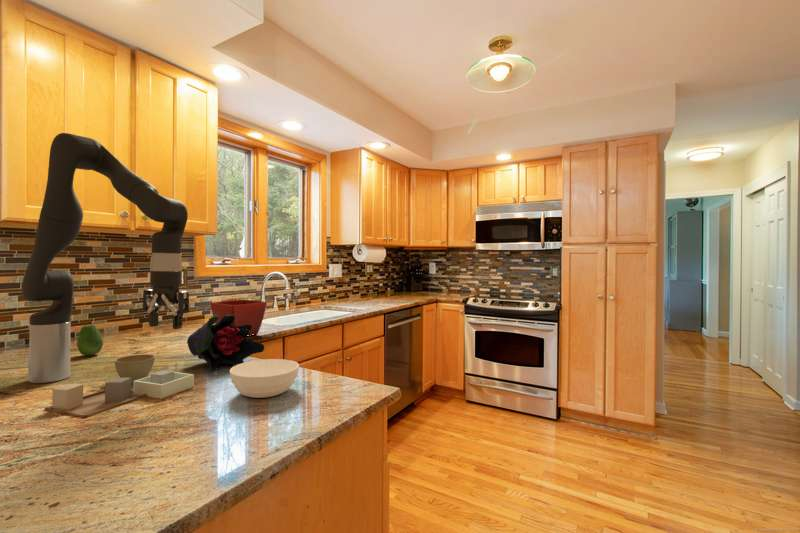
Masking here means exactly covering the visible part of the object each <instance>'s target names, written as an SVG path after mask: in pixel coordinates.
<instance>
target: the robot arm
mask: <svg viewBox="0 0 800 533" xmlns="http://www.w3.org/2000/svg"><path fill="white" fill-rule="evenodd" d="M51 141H52V142H51V145H50V149H49V159H48V168H47V169H48V170H47V182H46V186H45V193H44V197H43V201H42V206H41V209H40V212H39V218H38V222H37V229H36V233H35V239H34V243H33V246H32V252H31V254H30V257H29V260H28V264H27V265H26V269H25V272H24V274H23V279H22V283H21V294H22V297H23V299H24V300H26V301H28V302H48V301H52V303H51V305H49V306H48V307H46V308H44V309H42V310H41V311H37V312H35V313H32V314H31V315H30V316H29V332H28V333H29V348H28V354H27V355H28V362H27V363H28V366H27V367H28V373H27V374H28V375H27V376H28V379H27V380H28V383H30V384H45V383H52V382H57V381H61V380H62V381H63V380H65V379H68V378H70V376H71V335H72V334H71V328H72V327H71V324H72V323H71V322H72V321H71V320H72V319H71V317H72V313H73V303H74V302H73V298H74V289H75V288H74V287H75V285H74V278H73V275H72V274H71V272H70V271H67V270H60V269H59V270H52V269H51V270H49V267H50V265H51V263H52V262H53V261H54V259H55V258H56V257H57V256H58V255H59V254H60V253H62V251H64V250H65V249H67V248H68V246H70V245H71V244H72V243H73V242H74V241H75V240H77V238H78V236H79V234H80V231H81V227H82V223H83V219H84V211H83V208H82V205H81V203H80V201H79V199H78V197H77V195H76V193H75V190H74V179H75V178H74V177H75V173H76V170H83V171H84V170H85V171H94V172H97V173H98V174H101V175H103V177H106V178H107V179H108V180H109V181H110V184H111V185H112V187H113V188H114V190H115V191H116V192H117V193H118V194H119V195H121V196H122V197H123V198H125V199H126V200H128V201H129V202H130V203H132V204H134V205H135V206H136V207H137V208H138V210H140V212H141V213H142V214H144V215H145V216H146V217H147V218H148V219H150V220H152V221H154V222H157V223H163V225H162V228H161V230H160V231H156V232H154V233H152V236H151V253H150V254H151V257H150V263H149V265H150V267H149V268H150V269H149V286H150V287H152V288H150V289H144V290H143V296H142V297H143V298H142V311H144V312H145V311H146V312H147V314H148V325H149V327H151V328H154V327H158V326H159V316H160V315H159V311H160V309H161V308H163V307H167V309H169V310H170V311H171V312H172V314H173V315H172V329H173V330H178V329H182V327H183V315H184V314H185V315H186V314H188V313H189V312H190V296H189V294H190V292H189V291H187V290H185V291H183V290H182V291H180V287H181V286H182V285H183V283H182V282H183V279H182V278H183V277H182V276H183V259H182V238H183V236H184V232H185V229H186V226H187V222H188V214H189V213H188V208H187V206H186V205H185V203H184V202H182V201H181V200H179V199H176V198H170V197H165V196H164V195H161V194H159V191H158V189H157V188H156V187H155V186H154V185H153V184H151V183H150V182H148V181H146V180H145V179H144V178H142V177H140V176H139V175H138V174H136V173H135V172H133V171H132V170H131V169H129V168H128V167H127V166H125V165H124V164H123V163H122V162H121V161H120V160H119V159H118V158H117V157H115V155H114V154H112V152H110V150H108V149H107V148H106V147H105V146H104V145H103V144H102V143H101V142H99V141H97V140H96V139H94V138H90V137H86V136H82V135H78V134H75V133H74V134H73V133H69V132H68V133H67V132H60V133H58V134H57V135H55V137H54V138H53V139H52V140H51Z"/></svg>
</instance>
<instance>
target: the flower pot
mask: <svg viewBox="0 0 800 533" xmlns="http://www.w3.org/2000/svg"><path fill="white" fill-rule="evenodd" d="M155 358H156V356H155V355H154V354H148V353H147V354H142V353H141V354H131V355H126V356H122V357H121V356H120V357H117V358H115V359H114V367H115V370H116V373H117V374H118V376H119V378H132V384H133V381H135V380H138V379H142V378H145V377H148V376H150V374H151V370H152V368H153V366H154V362H155Z"/></svg>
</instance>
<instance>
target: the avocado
mask: <svg viewBox="0 0 800 533" xmlns="http://www.w3.org/2000/svg"><path fill="white" fill-rule="evenodd" d="M103 345H104V338H103V336H102V334H101V332H100V331H99V328H97V326H96V325H94V324H90V323H89V324H85V325H84V326H82V327H81V329H80V330H79V334H78V337H77V340H76V346H77V350H78V352H79V353H80V354H81V355H83V356H85V357H87V356H88V357H91V356H94V355H96V354H98V353H100V352H101V350H102V349H103Z"/></svg>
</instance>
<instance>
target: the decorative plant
mask: <svg viewBox="0 0 800 533" xmlns="http://www.w3.org/2000/svg"><path fill="white" fill-rule="evenodd" d="M218 318H219V317H218V316H217V315H216V314H215V315H214V316H213V315H212V316H211V317H209V319H208V320H207V321H206V322H205V323H204V324H203V325H202V326H201V327H200V328H197V329H196V330H195V331H194V332H192V333H191V334H190V335H189V336H188V338H187V341H186V342H187V347H188V350H189V351H190V353H191V355H192V356H194V357H195V356H197V358H198V359H199V360H204V361H205V362H206V363H207V364H208V366H209V368H210V372H216V371H217V370H218V367H219V366H220V363H222V364H229V365H232V366H236V365H238V364H241V363H245V361H244V360H245V359H247V358H248V357H250V356H252V355H255V354H259V353H263V352H264V351H265V346H264V344H263V343H261V342H259V341H258V342H257V341H253V340H251V339H249V338H248V337H246V336H247V335H248V334H249V330H251V328H252V326H250V325H243V326H231V324H232V322H233V321H234V318H235V316H233V315H224V316H223V317H222V319H221V320H220V321H219V322H218V323H216V324H215V322H216V320H218Z"/></svg>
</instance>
